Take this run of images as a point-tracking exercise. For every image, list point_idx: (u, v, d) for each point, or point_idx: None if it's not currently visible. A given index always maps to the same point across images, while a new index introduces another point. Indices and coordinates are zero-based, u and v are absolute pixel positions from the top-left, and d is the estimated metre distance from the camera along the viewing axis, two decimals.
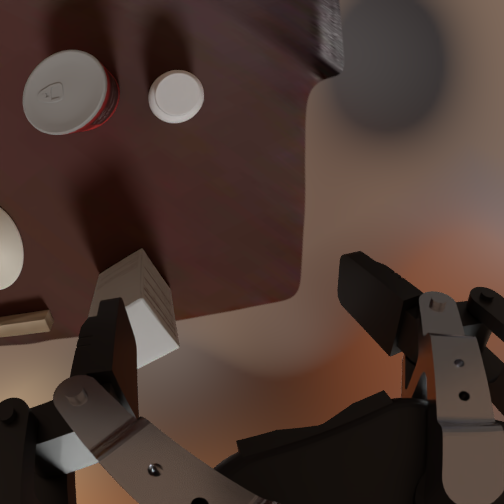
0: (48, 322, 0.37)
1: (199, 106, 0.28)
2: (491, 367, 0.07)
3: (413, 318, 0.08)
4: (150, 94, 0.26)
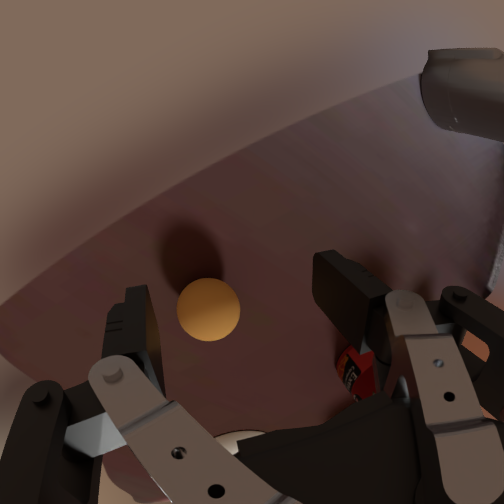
0: None
1: None
2: (469, 365, 0.08)
3: (380, 316, 0.08)
4: None
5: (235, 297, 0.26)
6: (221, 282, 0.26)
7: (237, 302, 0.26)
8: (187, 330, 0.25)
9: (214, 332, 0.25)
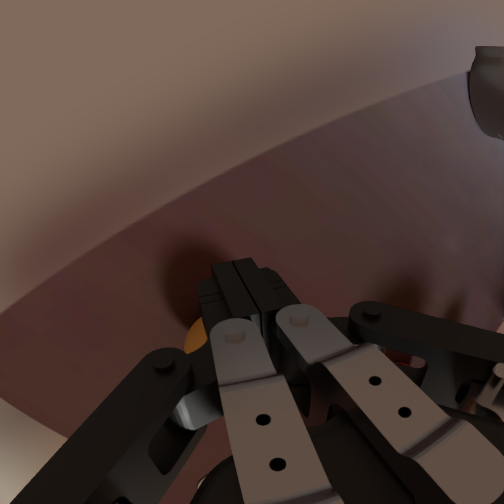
0: None
1: None
2: None
3: (273, 332, 0.08)
4: None
5: None
6: None
7: None
8: None
9: None
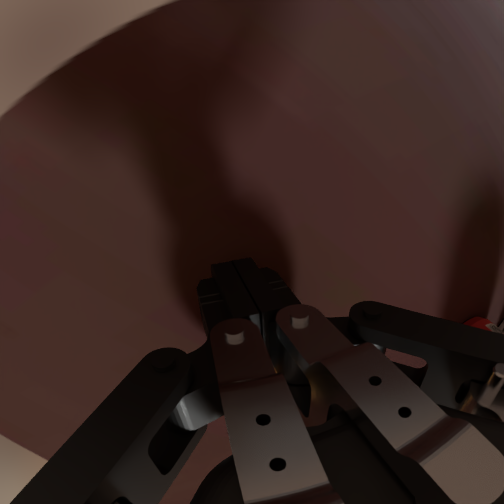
0: None
1: None
2: None
3: (273, 332, 0.08)
4: None
5: None
6: None
7: None
8: None
9: None
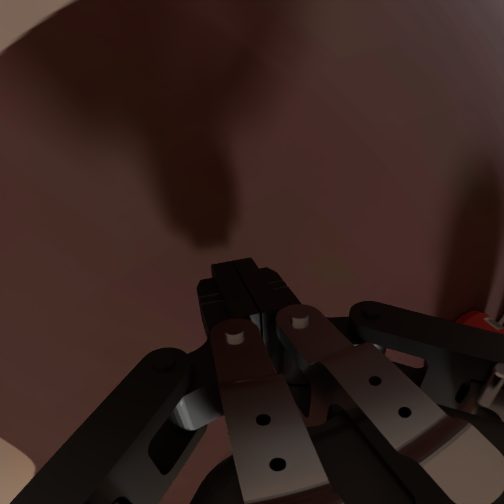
0: None
1: None
2: None
3: (273, 332, 0.08)
4: None
5: None
6: None
7: None
8: None
9: None
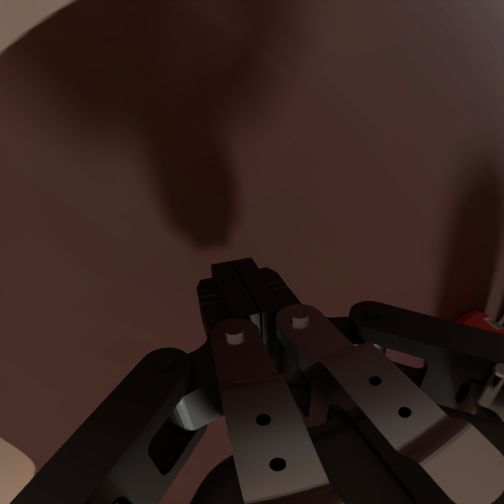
0: None
1: None
2: None
3: (273, 332, 0.08)
4: None
5: None
6: None
7: None
8: None
9: None
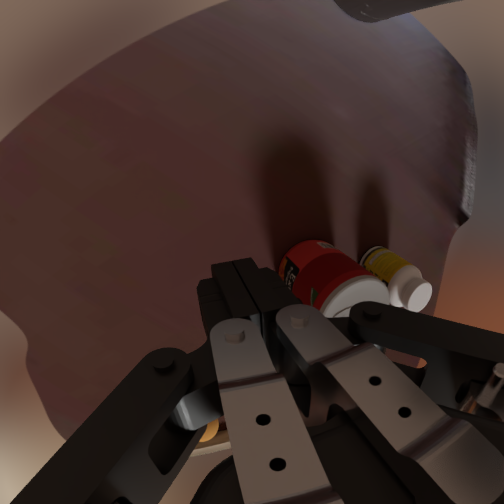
0: None
1: None
2: None
3: (273, 332, 0.08)
4: (393, 290, 0.34)
5: None
6: None
7: (215, 420, 0.39)
8: None
9: (202, 438, 0.37)
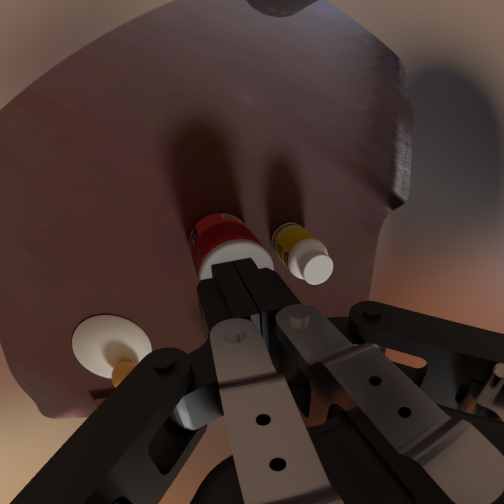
0: None
1: None
2: None
3: (273, 332, 0.08)
4: (292, 261, 0.39)
5: None
6: (132, 363, 0.44)
7: None
8: None
9: None
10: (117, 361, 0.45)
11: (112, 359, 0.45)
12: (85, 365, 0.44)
